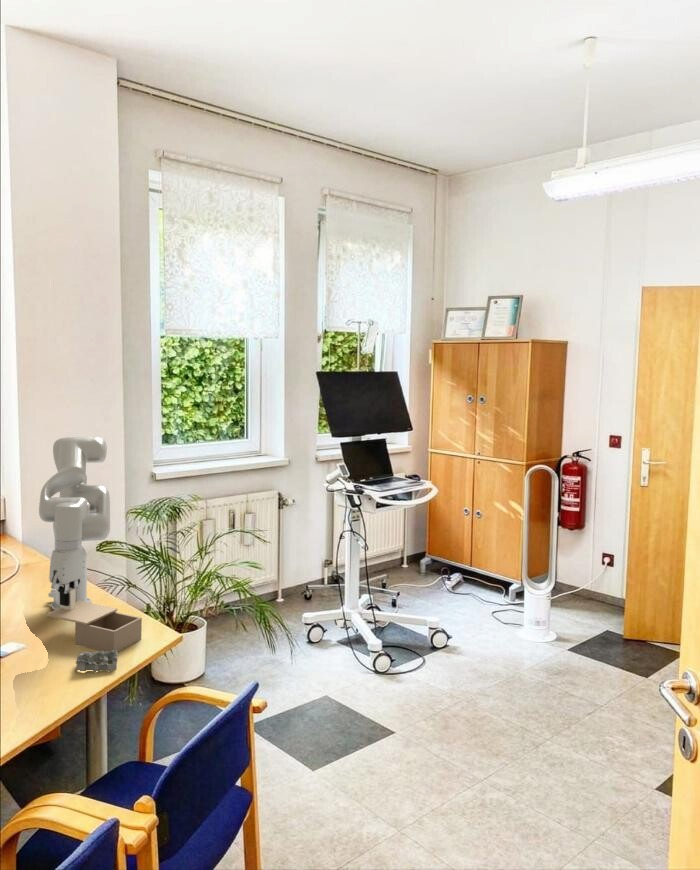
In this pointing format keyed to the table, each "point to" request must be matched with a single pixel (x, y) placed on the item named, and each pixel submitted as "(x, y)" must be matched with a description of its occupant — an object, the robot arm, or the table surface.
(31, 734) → the table surface
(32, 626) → the table surface
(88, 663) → the egg carton
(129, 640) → the carton
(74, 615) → the lid
